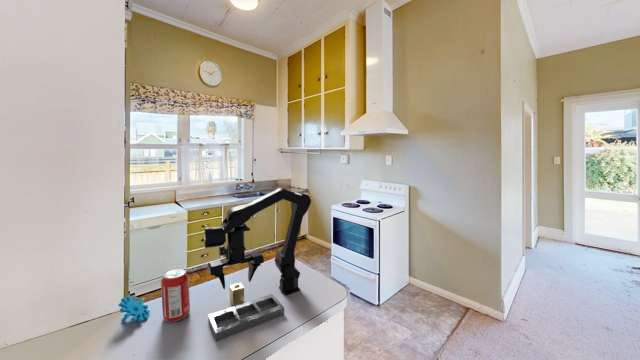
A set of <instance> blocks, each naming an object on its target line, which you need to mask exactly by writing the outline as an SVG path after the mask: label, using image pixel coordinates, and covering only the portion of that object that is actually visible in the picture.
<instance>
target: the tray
mask: <svg viewBox="0 0 640 360" xmlns="http://www.w3.org/2000/svg"><path fill="white" fill-rule="evenodd" d="M269 305H272V306H273V307H271V308H269V309H265V310H262V309H261V308H263V307H267V306H269ZM249 312H253V313H254V314H253V315H249V316H247V317H244V318H241V317H240V315H243V314H246V313H249ZM284 315H285V307H284V306H283V305H282V304H281V302H280V301H279V300H278V299H277V297H275V296H274V294H272V293H271V294H267V295H265V296H264V295H263V296H261V297H259V298H255V299H252V300H249V301H246V302H244V303H242V304H239V305H236V306H232V307H228V308H226V309H222V310H218V311H216V312H213V313H209V314H208V325H209V327H210V329H211V332H212V335H213V337H214V340H215V342H218V341H220V340H223V339H225V338H228V337H230V336H233V335H236V334H238V333H240V332H243V331H246V330H248V329H251V328H253V327H256V326H259V325H261V324H263V323H266V322H269V321H271V320H274V319H277V318H279V317H281V316H284ZM229 319H233V322H231V323H227V324H225V325H223V326H219V327H218V325H217V324H218V323H221V322H224V321H227V320H229Z"/></svg>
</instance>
